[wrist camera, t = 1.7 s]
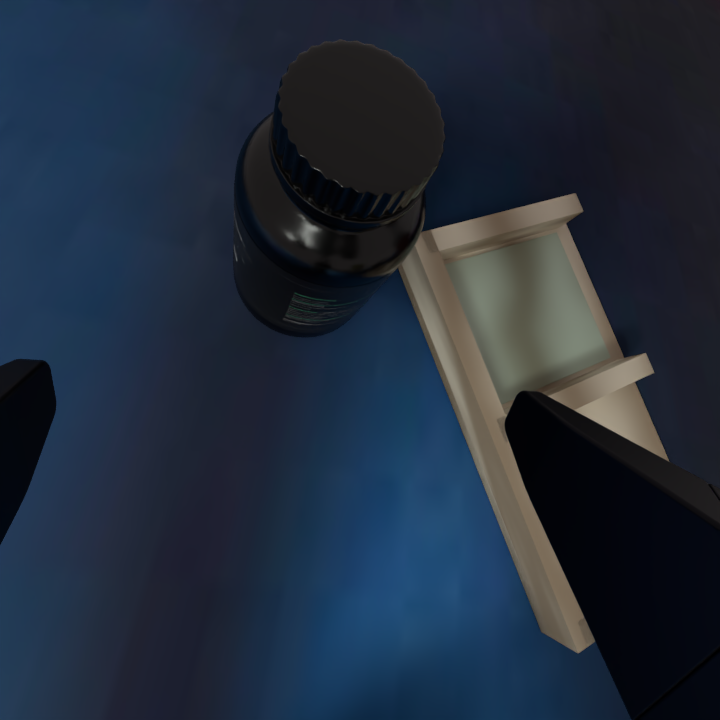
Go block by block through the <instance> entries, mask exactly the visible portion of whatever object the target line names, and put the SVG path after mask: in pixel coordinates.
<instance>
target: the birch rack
mask: <svg viewBox="0 0 720 720" xmlns="http://www.w3.org/2000/svg"><path fill="white" fill-rule="evenodd" d="M582 212H583V209H582V207H581V204H580V202H579V200H578V198H577V195H576V193H574V194H570V195H566V196H562V197H558V198H554V199H550V200H546V201H542V202H538V203H534V204H531V205H527V206H523V207H519V208H515V209H511V210H507V211H503V212H499V213H495V214H491V215H487V216H483V217H479V218H475V219H471V220H468V221H464V222H460V223H456V224H452V225H448V226H444V227H440V228H436V229H432V230H428V231H424V232H421V234H420V236H419V239H418V241H417V243H416V244H415V246H414V248H413V249H412V251H411V252H410V253H409V255H408V256H407V257H406V259H405V260H404V261H403V262H402V264H401V265H400V266H399V267H398V269H399V272H400V275H401V277H402V280H403V282H404V285H405V287H406V290H407V292H408V295H409V297H410V300H411V302H412V305H413V307H414V310H415V313H416V315H417V318H418V320H419V323H420V325H421V328H422V330H423V333H424V335H425V338H426V340H427V343H428V346H429V348H430V351H431V353H432V356H433V358H434V361H435V363H436V366H437V368H438V371H439V373H440V376H441V378H442V381H443V384H444V386H445V389H446V391H447V394H448V396H449V399H450V401H451V404H452V406H453V409H454V411H455V414H456V417H457V419H458V422H459V424H460V427H461V429H462V432H463V434H464V437H465V439H466V442H467V444H468V447H469V449H470V452H471V455H472V457H473V460H474V462H475V465H476V467H477V470H478V472H479V475H480V477H481V480H482V482H483V485H484V488H485V490H486V493H487V495H488V498H489V500H490V503H491V505H492V508H493V510H494V513H495V515H496V518H497V520H498V523H499V526H500V528H501V531H502V533H503V536H504V538H505V541H506V543H507V546H508V548H509V551H510V553H511V556H512V559H513V561H514V564H515V566H516V569H517V571H518V574H519V576H520V579H521V581H522V584H523V586H524V589H525V591H526V594H527V597H528V599H529V602H530V604H531V607H532V609H533V612H534V614H535V617H536V619H537V622H538V624H539V627H540V630H541V632H542V633H544V634H546V635H547V636H549V637H551V638H553V639H554V640H556V641H558V642H559V643H561V644H563V645H564V646H566V647H568V648H570V649H571V650H573V651H575V652H576V653H580V652H581V651H582V650H584V649H585V648H587V647H588V646H590V645H591V644H592V643H594V642H595V640H594V637H593V635H592V633H591V631H590V629H589V626H588V624H587V622H586V620H585V618H584V616H583V613H582V611H581V609H580V607H579V605H578V603H577V600H576V598H575V596H574V594H573V592H572V590H571V587H570V585H569V583H568V581H567V579H566V577H565V574H564V572H563V570H562V568H561V566H560V564H559V561H558V559H557V557H556V555H555V553H554V551H553V548H552V546H551V544H550V542H549V540H548V538H547V535H546V533H545V531H544V529H543V527H542V525H541V522H540V520H539V518H538V516H537V514H536V512H535V509H534V507H533V505H532V503H531V501H530V498H529V496H528V494H527V491H526V489H525V486H524V484H523V481H522V478H521V475H520V472H519V469H518V467H517V464H516V461H515V458H514V455H513V452H512V449H511V446H510V443H509V441H508V438H507V435H506V432H505V427H504V423H505V419H506V416H507V414H508V412H509V410H510V408H511V406H512V404H513V401H514V399H515V397H516V395H517V394H518V393H519V392H520V391H523V390H528V391H539V392H541V393H543V394H545V395H547V396H549V397H550V398H552V399H554V400H556V401H558V402H560V403H562V404H563V405H565V406H567V407H569V408H571V409H573V410H575V411H576V412H578V413H580V414H582V415H584V416H586V417H587V418H589V419H591V420H593V421H595V422H597V423H599V424H600V425H602V426H604V427H606V428H608V429H610V430H612V431H613V432H615V433H617V434H619V435H621V436H623V437H624V438H626V439H628V440H630V441H632V442H634V443H636V444H637V445H639V446H641V447H643V448H645V449H647V450H649V451H650V452H652V453H654V454H656V455H658V456H660V457H662V458H663V459H665V460H667V461H669V460H668V457H667V455H666V453H665V450H664V448H663V446H662V443H661V441H660V439H659V436H658V434H657V432H656V430H655V427H654V425H653V423H652V420H651V418H650V416H649V413H648V411H647V409H646V407H645V404H644V402H643V400H642V397H641V395H640V393H639V390H638V388H637V386H636V383H635V381H637V380H639V379H642V378H644V377H646V376H648V375H650V374H652V373H654V371H653V369H652V366H651V364H650V362H649V359H648V357H647V355H646V353H644V354H639V355H635V356H631V357H626V358H624V356H623V354H622V351H621V349H620V347H619V344H618V342H617V340H616V337H615V335H614V333H613V331H612V328H611V326H610V324H609V321H608V319H607V317H606V314H605V312H604V310H603V307H602V305H601V303H600V301H599V298H598V296H597V294H596V291H595V289H594V287H593V284H592V282H591V280H590V278H589V275H588V273H587V271H586V268H585V266H584V264H583V261H582V259H581V257H580V254H579V252H578V250H577V248H576V245H575V243H574V241H573V238H572V236H571V234H570V231H569V229H568V227H567V225H566V223H567V222H568V221H570V220H571V219H573V218H574V217H576V216H577V215H579V214H580V213H582Z"/></svg>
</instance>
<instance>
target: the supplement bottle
mask: <svg viewBox="0 0 720 720" xmlns="http://www.w3.org/2000/svg"><path fill="white" fill-rule="evenodd" d="M444 125H445V123H444V121H443V119H442V117H441V109H440V107H439V106H438V105H437V103H436V101H435V96H434V94H433V93H432V92H431V91H430V90H429V89H428V87H427V84H426V82H425V81H424V80H423V79H421V78H420V77H419V76H418V75H417V73H416V71H415V70H414V69H412V68H411V67H409V66H407V65H406V64H405V63H404V61H403V60H402V59H400V58H397V57H395V56H393V55H392V54H391V53H390V52H388V51H387V50H382V49H379V48H377V47H376V46H374V45H372V44H363V43H361V42H358V41H350V42H348V41H344V40H338V41H335V42H327V41H325V42H324V43H322V44H321V45H319V46H311V47H310V48H309V50H308V51H307V52H303V53H300V54H299V55H298V57H297V60H296V61H294V62H292V63H290V64H289V66H288V69H287V73H286V74H284V76H283V77H282V78H281V81H280V86H279V91H278V93H277V95H276V100H275V108H274V112H272V113H270V114H269V115H268V116H267V117H265V118H264V119H263V120H262V121H261V122H260V123H259V124H258V125H257V126H256V127H255V128H254V129H253V130H252V132H251V133H250V134H249V136H248V137H247V139H246V140H245V142H244V145H243V147H242V149H241V151H240V154H239V157H238V161H237V166H236V173H235V183H234V244H233V266H234V279H235V283H236V287H237V290H238V293H239V295H240V297H241V299H242V301H243V303H244V304H245V306H246V307H247V309H248V310H249V311H250V312H251V313H252V315H253V316H254V317H256V318H257V319H258V320H259V321H260V322H261V323H263V324H264V325H266V326H267V327H269V328H271V329H273V330H275V331H277V332H279V333H282V334H285V335H289V336H294V337H316V336H321V335H324V334H327V333H330V332H332V331H334V330H336V329H338V328H339V327H341V326H342V325H344V324H345V323H346V322H347V321H349V320H350V319H351V318H352V317H353V316H354V315H355V314H356V313H357V311H358V310H359V309H360V308H361V307H362V306H363V305H364V304H365V303H366V302H367V301H368V300H369V298H370V297H371V296H372V295H373V294H374V293H375V292H376V291H377V290H378V289H379V288H380V286H381V285H382V284H383V283H384V282H385V281H386V280H387V279H388V278H389V277H390V276H391V274H392V273H393V272H394V271H395V270H396V269H397V268H398V267H399V266H400V265H401V264H402V262H403V261H404V260H405V259H406V257H407V256H408V255H409V253H410V252H411V251H412V249H413V248H414V246H415V244H416V243H417V241H418V239H419V236H420V234H421V231H422V228H423V225H424V220H425V212H426V193H425V187H426V184H427V182H428V181H429V179H430V177H431V176H432V175H433V173H434V172H435V171H436V169H437V167H438V164H439V159H440V158H441V156H442V154H443V143H444V141H445V134H444V131H443V129H444Z"/></svg>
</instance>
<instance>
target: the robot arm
mask: <svg viewBox="0 0 720 720" xmlns="http://www.w3.org/2000/svg"><path fill="white" fill-rule="evenodd" d="M55 411H56V397H55V391H54V386H53V380H52V374H51V369H50V367H49V365H48V363H47V362H45V361H43V360H30V359H16V360H13V361H11V362H9V363H6V364H4V365H2V366H0V544H1V542H2V541H3V539H4V537H5V535H6V533H7V531H8V529H9V527H10V525H11V523H12V521H13V519H14V517H15V515H16V513H17V511H18V509H19V507H20V505H21V503H22V501H23V499H24V497H25V495H26V492H27V490H28V487H29V485H30V482H31V479H32V477H33V474H34V471H35V468H36V465H37V463H38V460H39V457H40V454H41V451H42V449H43V446H44V443H45V440H46V438H47V435H48V432H49V429H50V426H51V424H52V421H53V418H54V415H55ZM504 427H505V432H506V435H507V438H508V441H509V443H510V446H511V449H512V452H513V455H514V458H515V461H516V464H517V467H518V469H519V472H520V475H521V478H522V481H523V484H524V486H525V489H526V491H527V494H528V496H529V498H530V501H531V503H532V505H533V507H534V509H535V512H536V514H537V516H538V518H539V520H540V522H541V525H542V527H543V529H544V531H545V533H546V535H547V538H548V540H549V542H550V544H551V546H552V548H553V551H554V553H555V555H556V557H557V559H558V561H559V564H560V566H561V568H562V570H563V572H564V574H565V577H566V579H567V581H568V583H569V585H570V587H571V590H572V592H573V594H574V596H575V598H576V600H577V603H578V605H579V607H580V609H581V611H582V613H583V616H584V618H585V620H586V622H587V624H588V626H589V629H590V631H591V633H592V635H593V637H594V640H595V642H596V644H597V646H598V648H599V650H600V653H601V655H602V657H603V659H604V661H605V663H606V666H607V668H608V670H609V672H610V674H611V676H612V679H613V681H614V683H615V685H616V687H617V689H618V692H619V694H620V696H621V698H622V700H623V702H624V705H625V707H626V709H627V711H628V713H629V715H630V718H631V719H632V720H720V489H719V488H717V487H715V486H713V485H712V484H707V482H706V481H704V480H702V479H700V478H699V477H697V476H695V475H693V474H691V473H689V472H687V471H686V470H684V469H682V468H680V467H678V466H676V465H674V464H673V463H671V462H669V461H667V460H665V459H663V458H662V457H660V456H658V455H656V454H654V453H652V452H650V451H649V450H647V449H645V448H643V447H641V446H639V445H637V444H636V443H634V442H632V441H630V440H628V439H626V438H624V437H623V436H621V435H619V434H617V433H615V432H613V431H612V430H610V429H608V428H606V427H604V426H602V425H600V424H599V423H597V422H595V421H593V420H591V419H589V418H587V417H586V416H584V415H582V414H580V413H578V412H576V411H575V410H573V409H571V408H569V407H567V406H565V405H563V404H562V403H560V402H558V401H556V400H554V399H552V398H550V397H549V396H547V395H545V394H543V393H541V392H539V391H528V390H523V391H520V392H519V393H518V394H517V395H516V397H515V399H514V401H513V404H512V406H511V408H510V410H509V412H508V414H507V416H506V419H505V423H504Z"/></svg>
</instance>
